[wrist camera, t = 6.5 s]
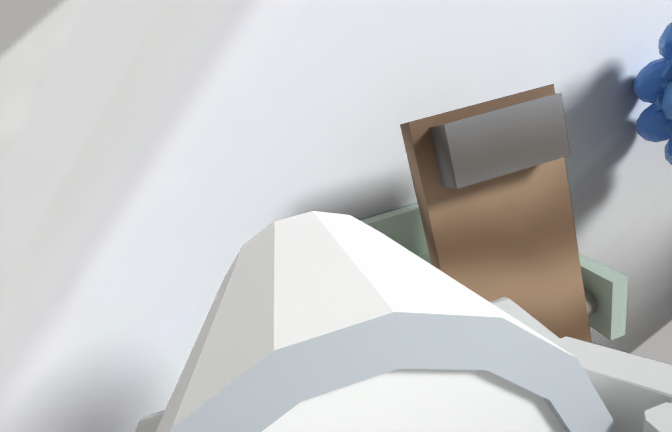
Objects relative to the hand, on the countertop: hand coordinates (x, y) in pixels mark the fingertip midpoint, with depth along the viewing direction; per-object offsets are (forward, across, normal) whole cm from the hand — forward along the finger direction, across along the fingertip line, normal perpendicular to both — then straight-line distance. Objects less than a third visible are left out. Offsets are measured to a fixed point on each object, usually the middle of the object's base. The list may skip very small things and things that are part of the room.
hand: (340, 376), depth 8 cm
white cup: (+4, 0, 0) cm, 4 cm away
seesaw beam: (+10, -11, +10) cm, 18 cm away
